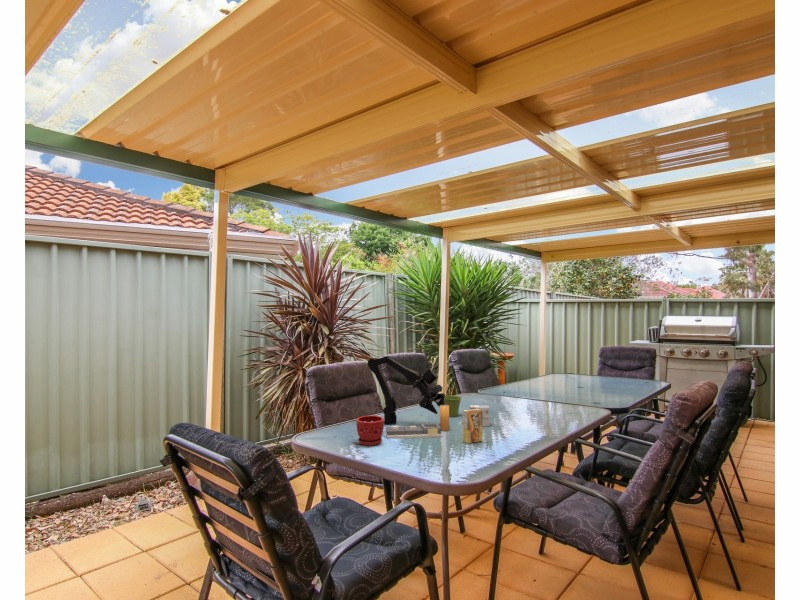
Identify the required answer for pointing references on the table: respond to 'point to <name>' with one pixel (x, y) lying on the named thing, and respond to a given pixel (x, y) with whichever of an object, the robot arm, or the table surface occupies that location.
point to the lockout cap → (444, 417)
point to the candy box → (472, 425)
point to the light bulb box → (483, 413)
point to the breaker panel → (414, 431)
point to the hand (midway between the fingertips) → (441, 412)
